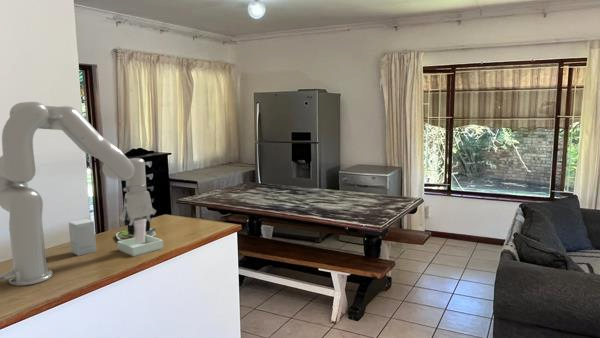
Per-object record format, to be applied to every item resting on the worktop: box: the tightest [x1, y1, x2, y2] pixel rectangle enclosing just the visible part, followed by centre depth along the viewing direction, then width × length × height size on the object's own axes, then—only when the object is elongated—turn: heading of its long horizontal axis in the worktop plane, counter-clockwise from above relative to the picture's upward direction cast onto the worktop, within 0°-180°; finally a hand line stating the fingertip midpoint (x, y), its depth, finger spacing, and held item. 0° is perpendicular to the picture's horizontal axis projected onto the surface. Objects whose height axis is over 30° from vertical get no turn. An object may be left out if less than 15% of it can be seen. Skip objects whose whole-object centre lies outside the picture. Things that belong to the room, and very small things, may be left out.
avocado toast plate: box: [115, 227, 157, 241], centre depth 198 cm, size 19×18×5 cm
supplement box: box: [68, 218, 97, 257], centre depth 178 cm, size 7×7×13 cm
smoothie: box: [132, 217, 147, 243], centre depth 179 cm, size 6×6×14 cm
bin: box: [116, 235, 164, 257], centre depth 181 cm, size 13×13×4 cm
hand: (139, 232), depth 180 cm, fingers closed on smoothie, 6 cm apart
